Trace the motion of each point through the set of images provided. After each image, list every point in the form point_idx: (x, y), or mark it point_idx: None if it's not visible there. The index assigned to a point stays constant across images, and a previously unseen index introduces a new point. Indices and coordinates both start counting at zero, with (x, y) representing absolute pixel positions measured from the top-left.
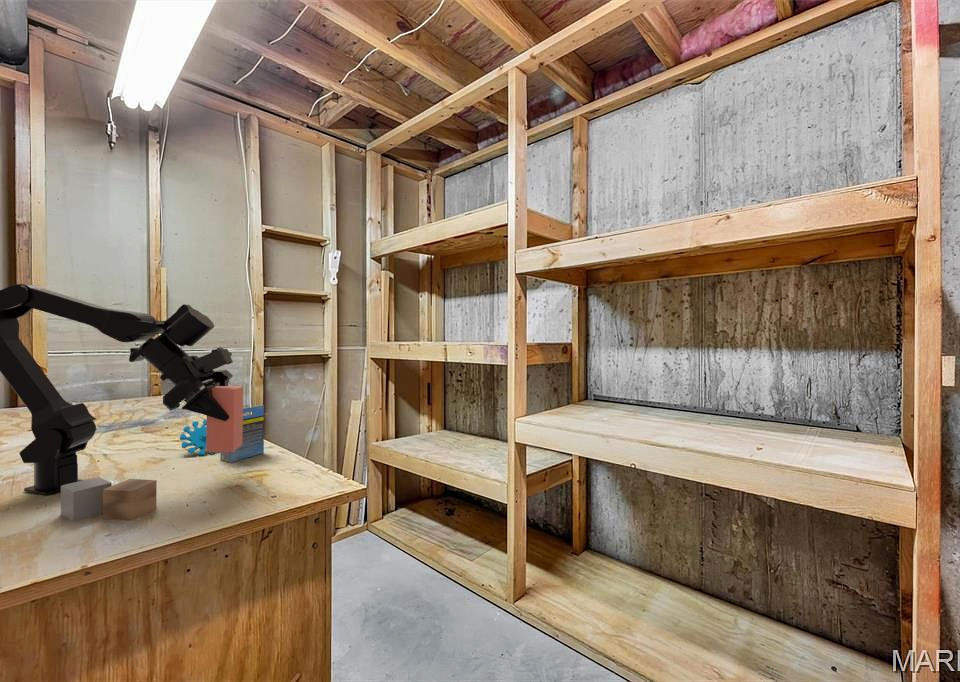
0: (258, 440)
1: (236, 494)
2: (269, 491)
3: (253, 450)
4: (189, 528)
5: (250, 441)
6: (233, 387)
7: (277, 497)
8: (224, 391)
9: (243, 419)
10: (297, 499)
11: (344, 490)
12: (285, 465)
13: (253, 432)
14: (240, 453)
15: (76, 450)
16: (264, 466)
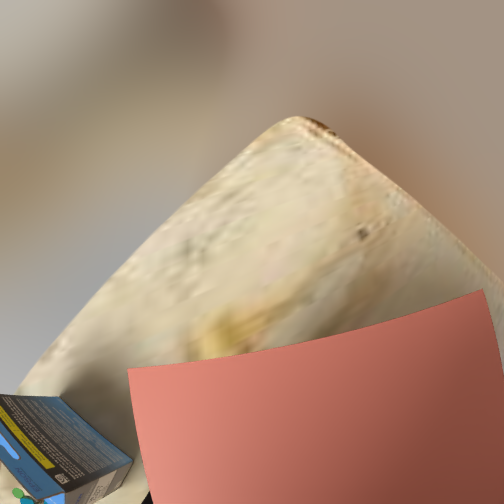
0: (44, 407)
1: (366, 321)
2: (338, 256)
3: (71, 417)
4: (494, 304)
5: (60, 425)
6: (272, 459)
7: (365, 225)
8: (493, 404)
9: (25, 451)
10: (364, 187)
11: (306, 130)
12: (148, 301)
13: (36, 420)
14: (100, 443)
15: None
16: (156, 355)
